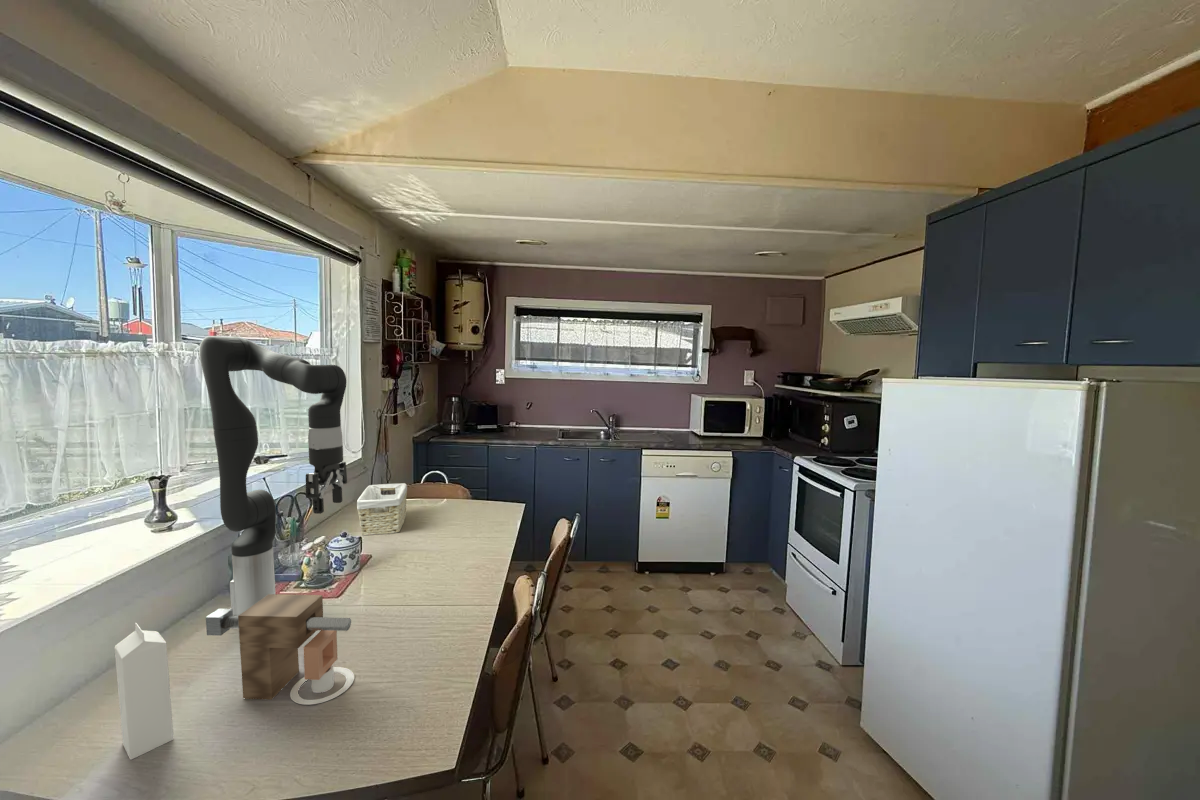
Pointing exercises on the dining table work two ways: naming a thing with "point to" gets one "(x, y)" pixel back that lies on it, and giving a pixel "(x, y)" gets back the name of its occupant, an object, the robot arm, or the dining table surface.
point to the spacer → (320, 654)
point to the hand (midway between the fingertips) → (328, 507)
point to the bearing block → (274, 641)
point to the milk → (143, 692)
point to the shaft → (225, 620)
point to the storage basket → (382, 509)
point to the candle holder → (323, 685)
